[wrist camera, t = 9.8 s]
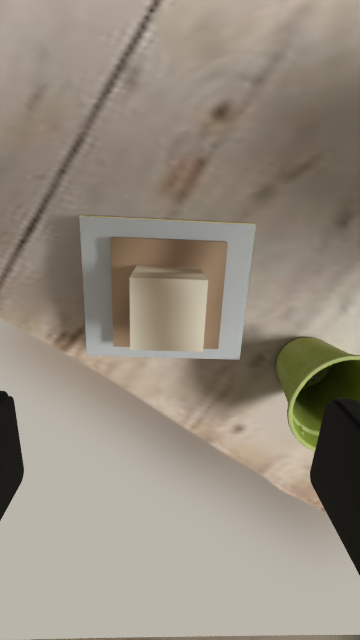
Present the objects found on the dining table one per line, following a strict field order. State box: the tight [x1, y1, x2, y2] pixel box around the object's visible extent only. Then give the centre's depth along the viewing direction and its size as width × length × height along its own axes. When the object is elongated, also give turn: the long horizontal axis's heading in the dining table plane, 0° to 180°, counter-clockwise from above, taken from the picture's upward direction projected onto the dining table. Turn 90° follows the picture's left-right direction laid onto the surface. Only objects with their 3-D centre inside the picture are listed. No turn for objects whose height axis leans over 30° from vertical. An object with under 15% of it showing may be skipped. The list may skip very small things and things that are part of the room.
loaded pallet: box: [110, 236, 228, 352], centre depth 24 cm, size 9×9×6 cm
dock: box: [79, 215, 256, 360], centre depth 29 cm, size 14×12×4 cm
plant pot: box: [276, 337, 360, 451], centre depth 30 cm, size 9×9×9 cm
